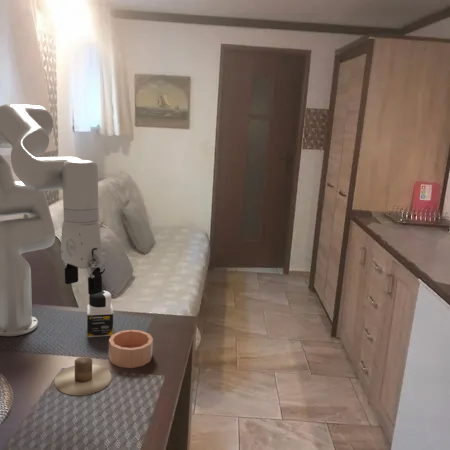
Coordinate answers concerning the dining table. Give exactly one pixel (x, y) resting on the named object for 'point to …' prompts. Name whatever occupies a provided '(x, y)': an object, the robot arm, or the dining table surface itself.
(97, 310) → the medicine bottle
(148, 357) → the bowl
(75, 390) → the lid
